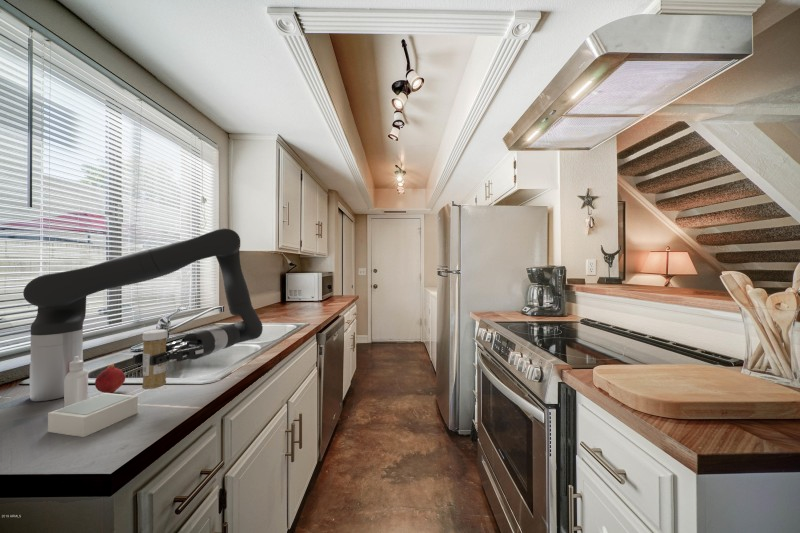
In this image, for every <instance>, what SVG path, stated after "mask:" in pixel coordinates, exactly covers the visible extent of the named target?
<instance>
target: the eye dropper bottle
mask: <svg viewBox="0 0 800 533" xmlns="http://www.w3.org/2000/svg"><path fill="white" fill-rule="evenodd" d="M84 367H85V366H84V359H83V360H80V359H79V356H75V357H74V360H73V361H72V362H70V363H69V371H70V372H69V373H68V374H67V375H66V376H65V379H64V397H63V398H64V400H63V407H66V406H69V405H72V404H75V403H78V402H80V401H83V400H86V399H89V371H88V369H85V368H84Z"/></svg>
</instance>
